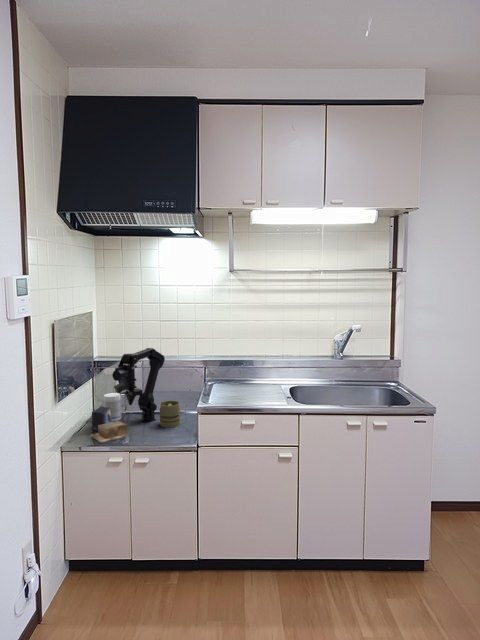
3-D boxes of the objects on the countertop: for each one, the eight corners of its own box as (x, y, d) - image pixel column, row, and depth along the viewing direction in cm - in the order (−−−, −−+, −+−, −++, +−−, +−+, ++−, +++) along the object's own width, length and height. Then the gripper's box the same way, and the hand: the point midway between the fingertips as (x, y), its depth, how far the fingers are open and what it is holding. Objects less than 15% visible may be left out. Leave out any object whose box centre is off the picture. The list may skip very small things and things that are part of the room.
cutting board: (115, 430, 257) (115, 429, 257) (126, 436, 247) (126, 435, 247) (90, 435, 248) (90, 434, 248) (100, 442, 238) (100, 441, 238)
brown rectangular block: (119, 419, 255) (97, 424, 248) (126, 424, 249) (105, 429, 241) (119, 429, 256) (98, 434, 248) (127, 433, 249) (105, 439, 241)
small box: (102, 431, 255) (102, 412, 254) (91, 430, 256) (90, 411, 255) (111, 425, 265) (111, 406, 264) (101, 424, 267) (100, 406, 265)
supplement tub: (124, 419, 275) (123, 394, 274) (109, 423, 269) (108, 397, 267) (116, 415, 282) (115, 391, 281) (101, 419, 276) (100, 394, 274)
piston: (179, 400, 272) (180, 405, 260) (179, 420, 273) (180, 426, 262) (159, 401, 270) (159, 406, 259) (160, 421, 271) (159, 427, 260)
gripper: (108, 376, 259) (109, 404, 261) (123, 382, 245) (124, 411, 246) (126, 373, 266) (127, 400, 268) (142, 379, 252) (143, 407, 253)
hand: (130, 405), depth 259 cm, fingers closed
